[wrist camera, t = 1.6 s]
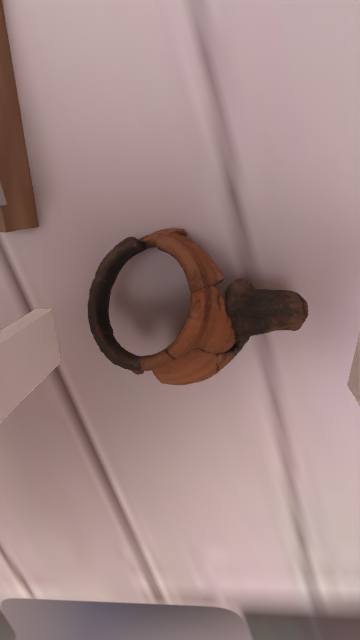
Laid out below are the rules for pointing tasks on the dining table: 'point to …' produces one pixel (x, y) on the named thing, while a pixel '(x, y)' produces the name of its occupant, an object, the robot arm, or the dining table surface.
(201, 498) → the dining table surface
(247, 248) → the dining table surface
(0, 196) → the top slab
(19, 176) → the base slab
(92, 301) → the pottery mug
